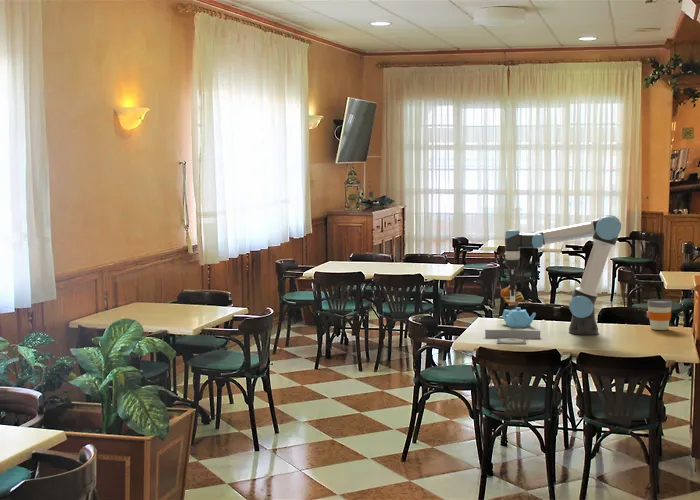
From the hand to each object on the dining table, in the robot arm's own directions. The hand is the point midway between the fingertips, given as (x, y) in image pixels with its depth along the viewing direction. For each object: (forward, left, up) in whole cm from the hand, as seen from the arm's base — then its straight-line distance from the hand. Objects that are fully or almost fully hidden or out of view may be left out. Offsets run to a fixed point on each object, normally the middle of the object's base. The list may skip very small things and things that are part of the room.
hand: (512, 300), depth 439 cm
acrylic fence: (0, +12, -18) cm, 21 cm away
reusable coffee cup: (-78, -24, -18) cm, 84 cm away
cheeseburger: (-1, -1, -2) cm, 2 cm away
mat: (+1, +23, -18) cm, 29 cm away
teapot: (-3, -24, -18) cm, 30 cm away
